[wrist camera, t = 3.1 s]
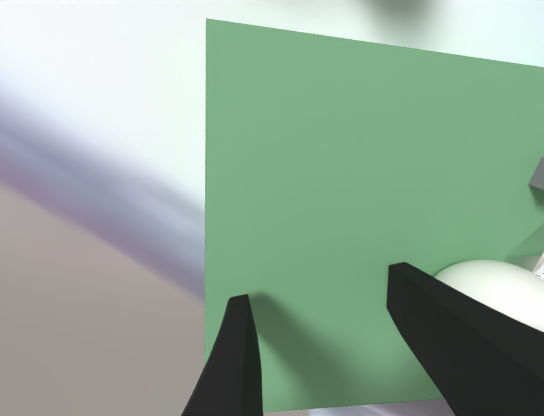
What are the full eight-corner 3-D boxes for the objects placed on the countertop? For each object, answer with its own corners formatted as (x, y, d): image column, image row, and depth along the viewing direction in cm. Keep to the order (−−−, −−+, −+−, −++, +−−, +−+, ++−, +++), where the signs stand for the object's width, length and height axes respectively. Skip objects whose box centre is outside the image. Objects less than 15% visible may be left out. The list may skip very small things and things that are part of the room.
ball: (502, 233, 11) (666, 318, 7) (460, 314, 13) (573, 415, 9) (414, 239, 10) (556, 345, 6) (381, 328, 12) (474, 452, 8)
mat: (727, 105, 13) (926, 116, 9) (554, 343, 20) (630, 406, 16) (213, 36, 9) (200, 6, 6) (209, 359, 16) (201, 447, 12)
